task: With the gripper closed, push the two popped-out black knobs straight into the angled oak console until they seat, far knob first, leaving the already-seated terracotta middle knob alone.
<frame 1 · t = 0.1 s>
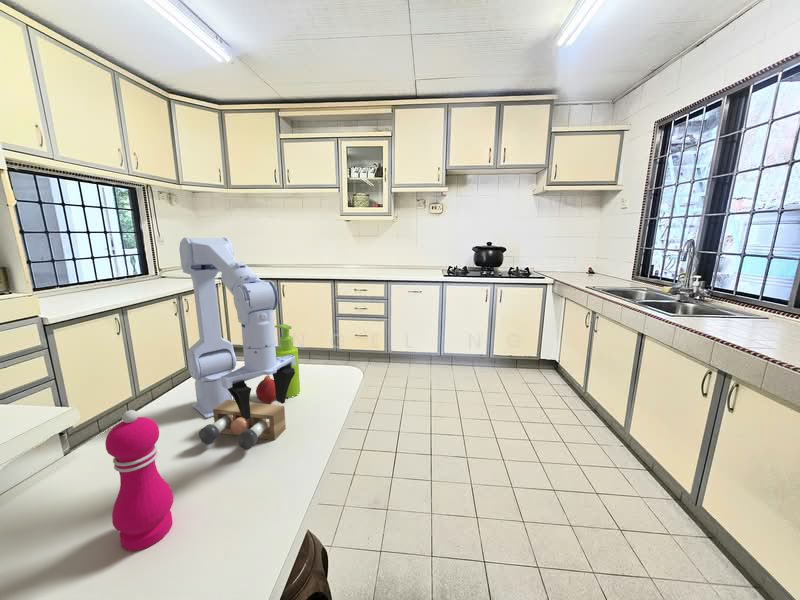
hand: (264, 409, 67), 10 cm above the table, tool pointing down, fingers open, 7 cm apart
onion: (268, 404, 90), on the table
knob far: (254, 432, 71), point 3 cm above the table, slide at 4.0 cm
pepper mill: (148, 533, 51), on the table
knob middle: (247, 420, 76), point 3 cm above the table, slide at 0.0 cm
soap dispenser: (288, 393, 96), on the table
console: (244, 436, 75), on the table
knob near: (216, 428, 73), point 3 cm above the table, slide at 4.0 cm
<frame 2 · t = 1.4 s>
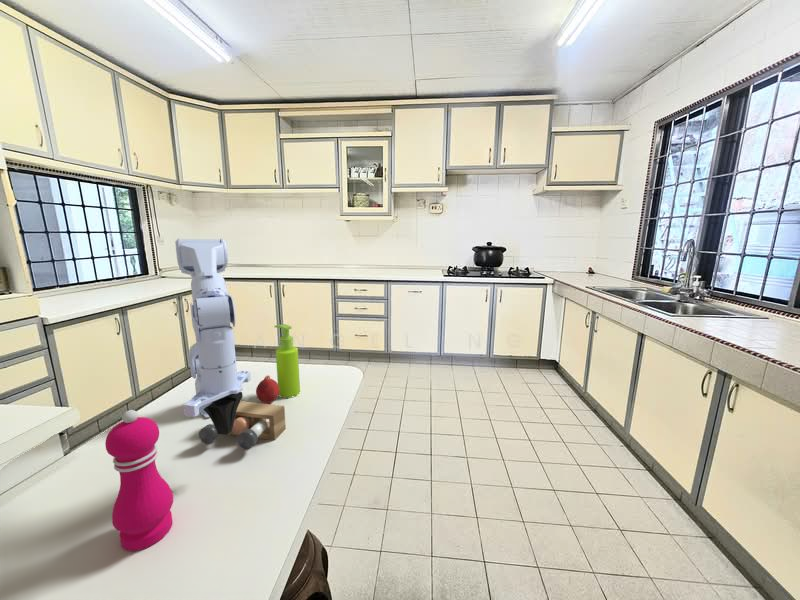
hand: (225, 432, 62), 8 cm above the table, tool pointing down, fingers closed
nothing on the table moved.
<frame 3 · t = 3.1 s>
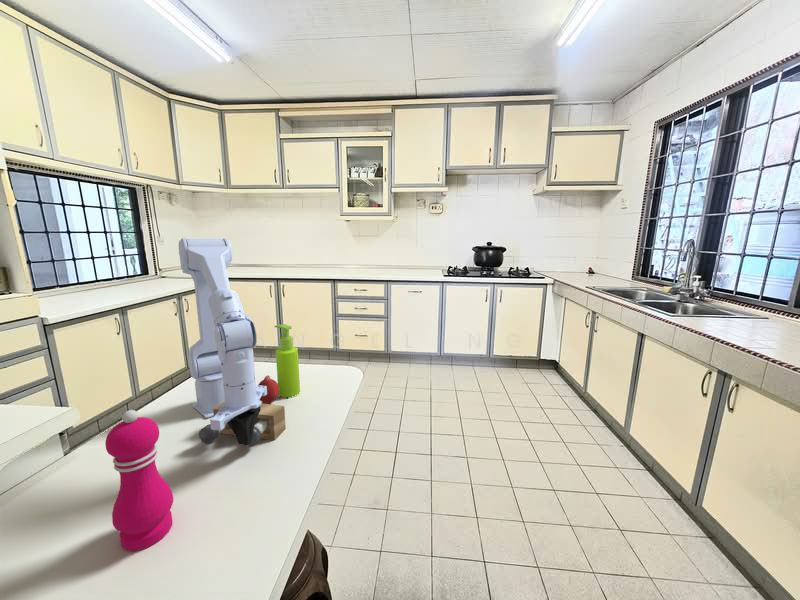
hand: (244, 442, 68), 3 cm above the table, tool pointing down, fingers closed
knob far: (257, 429, 72), point 3 cm above the table, slide at 2.8 cm, touching gripper
everything else where it was.
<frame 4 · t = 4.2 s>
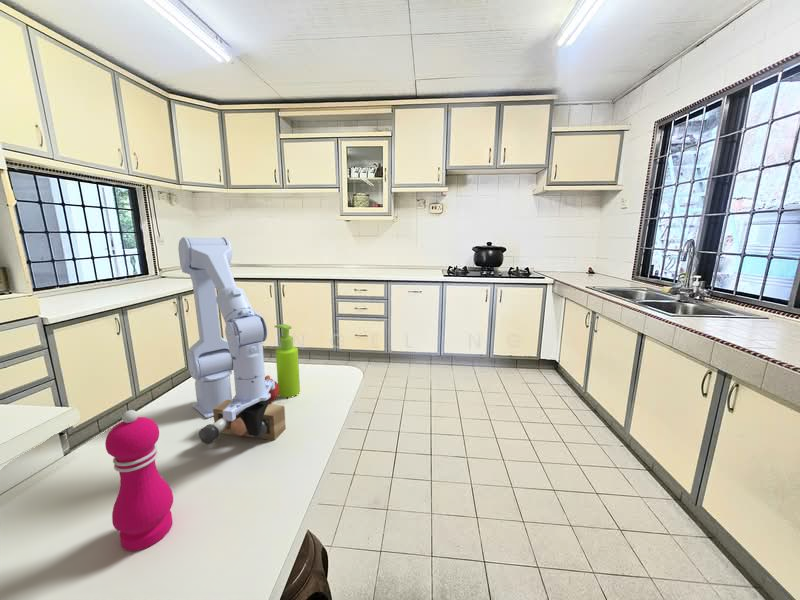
hand: (254, 434, 71), 3 cm above the table, tool pointing down, fingers closed
knob far: (265, 422, 75), point 3 cm above the table, slide at -0.1 cm, touching gripper
everything else where it was.
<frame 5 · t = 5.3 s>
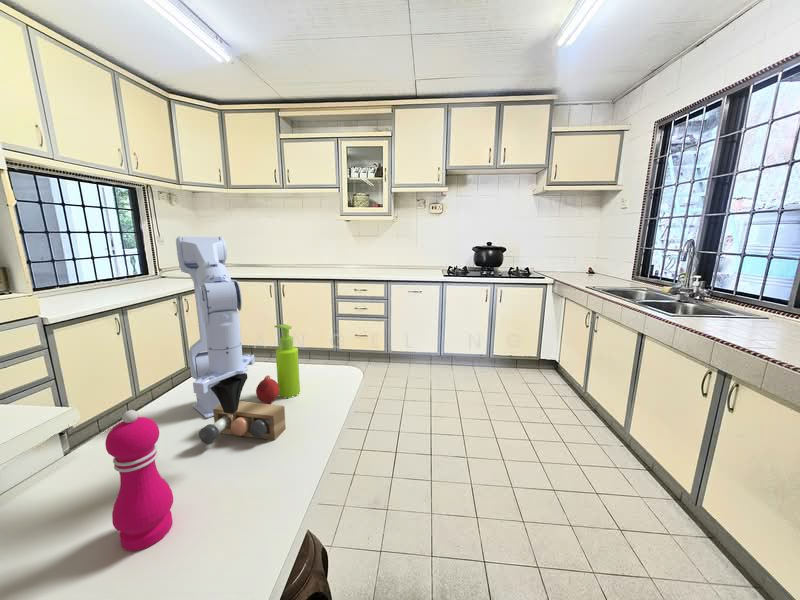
hand: (230, 411, 66), 10 cm above the table, tool pointing down, fingers closed
knob far: (265, 422, 75), point 3 cm above the table, slide at -0.1 cm
everything else where it was.
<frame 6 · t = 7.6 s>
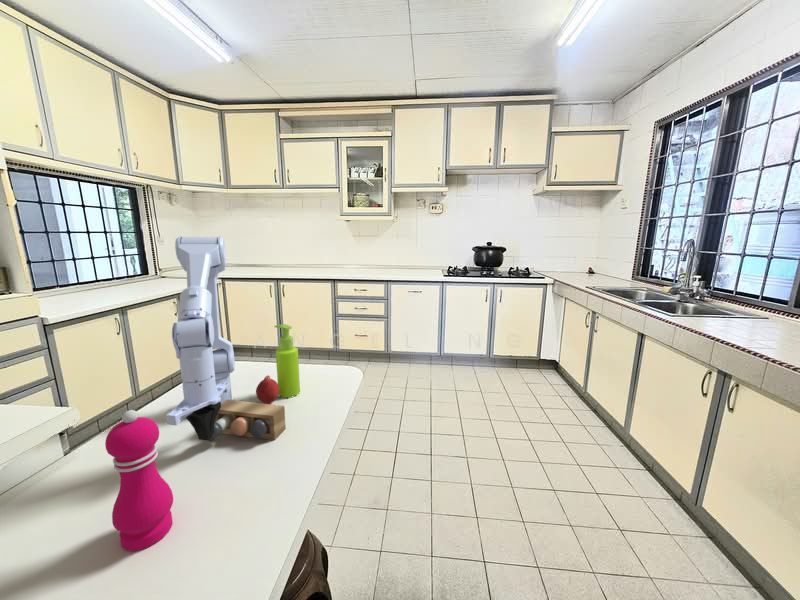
hand: (205, 438, 69), 3 cm above the table, tool pointing down, fingers closed
knob near: (220, 425, 74), point 3 cm above the table, slide at 3.0 cm, touching gripper
everything else where it was.
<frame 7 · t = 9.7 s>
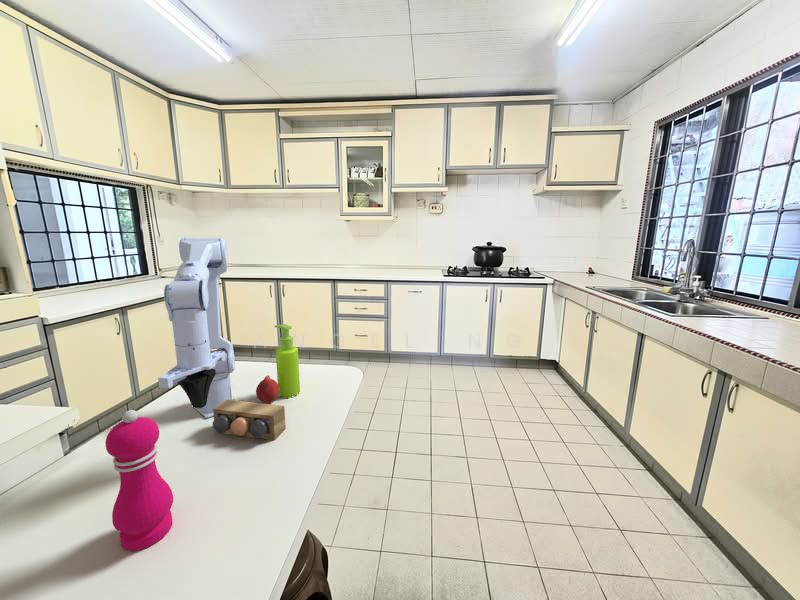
hand: (199, 406, 68), 10 cm above the table, tool pointing down, fingers closed
knob near: (229, 418, 77), point 3 cm above the table, slide at -0.1 cm
everything else where it was.
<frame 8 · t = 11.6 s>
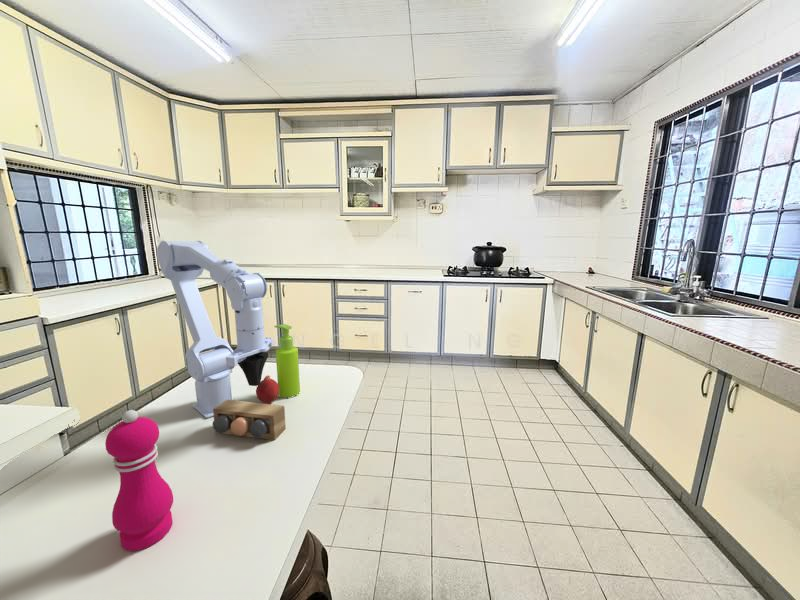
hand: (254, 384, 77), 10 cm above the table, tool pointing down, fingers closed
nothing on the table moved.
at the end: knob far slide at -0.1 cm; knob near slide at -0.1 cm; knob middle slide at 0.0 cm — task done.
